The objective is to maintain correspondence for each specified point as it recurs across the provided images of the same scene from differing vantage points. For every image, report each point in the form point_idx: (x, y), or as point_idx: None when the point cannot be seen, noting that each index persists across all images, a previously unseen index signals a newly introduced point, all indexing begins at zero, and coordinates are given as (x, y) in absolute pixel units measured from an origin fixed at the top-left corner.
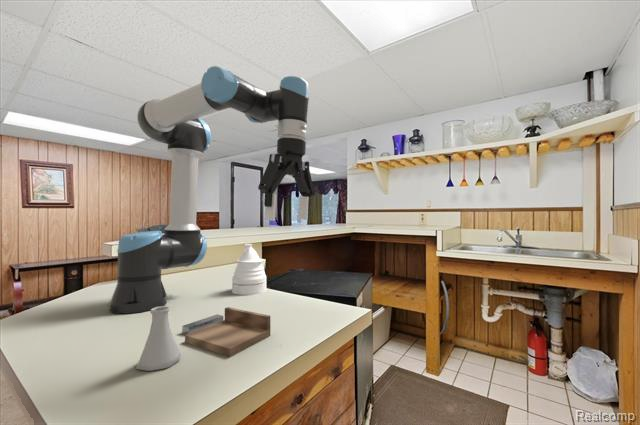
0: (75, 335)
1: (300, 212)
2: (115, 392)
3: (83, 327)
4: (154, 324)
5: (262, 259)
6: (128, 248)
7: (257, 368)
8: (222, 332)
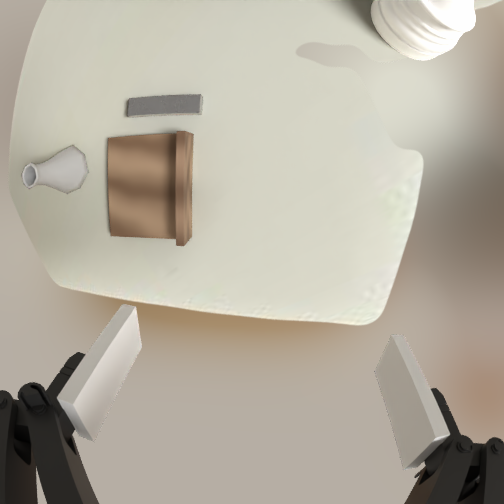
0: (80, 6)
1: (397, 369)
2: (33, 193)
3: None
4: (34, 177)
5: (469, 28)
6: None
7: (116, 280)
8: (139, 179)
